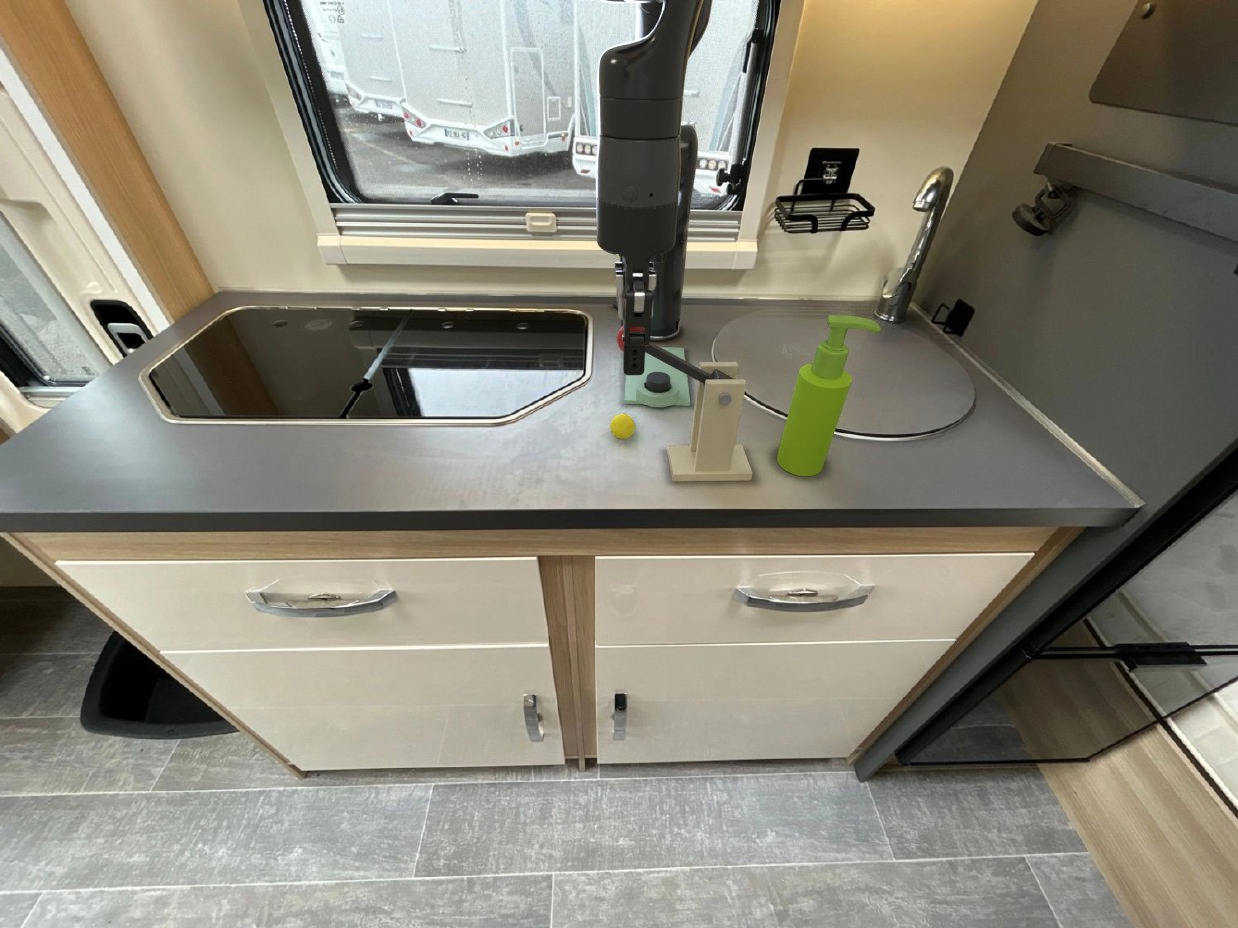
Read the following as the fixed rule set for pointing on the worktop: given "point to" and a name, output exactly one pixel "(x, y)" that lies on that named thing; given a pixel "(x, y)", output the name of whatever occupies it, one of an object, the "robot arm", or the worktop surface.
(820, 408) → the soap dispenser
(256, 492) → the worktop surface
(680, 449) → the bracket
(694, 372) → the lever
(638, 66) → the robot arm
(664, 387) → the button
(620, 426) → the yellow rounded piece
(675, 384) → the button block
